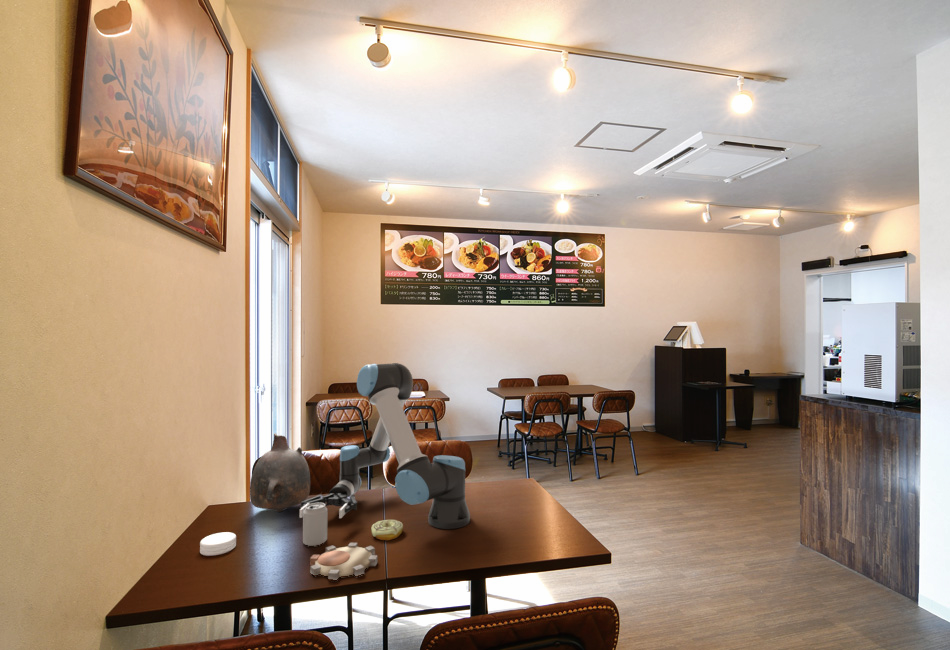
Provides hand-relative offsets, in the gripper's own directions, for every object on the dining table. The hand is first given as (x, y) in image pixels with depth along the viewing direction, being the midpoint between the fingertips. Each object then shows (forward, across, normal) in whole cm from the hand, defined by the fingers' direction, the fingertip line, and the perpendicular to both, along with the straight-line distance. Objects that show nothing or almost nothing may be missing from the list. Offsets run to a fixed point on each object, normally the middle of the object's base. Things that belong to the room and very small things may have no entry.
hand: (320, 513), depth 154 cm
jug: (-21, +24, -7) cm, 32 cm away
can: (+6, -1, -7) cm, 9 cm away
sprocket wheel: (+20, -15, -7) cm, 26 cm away
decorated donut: (-1, -23, -7) cm, 24 cm away
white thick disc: (+11, +28, -7) cm, 31 cm away
